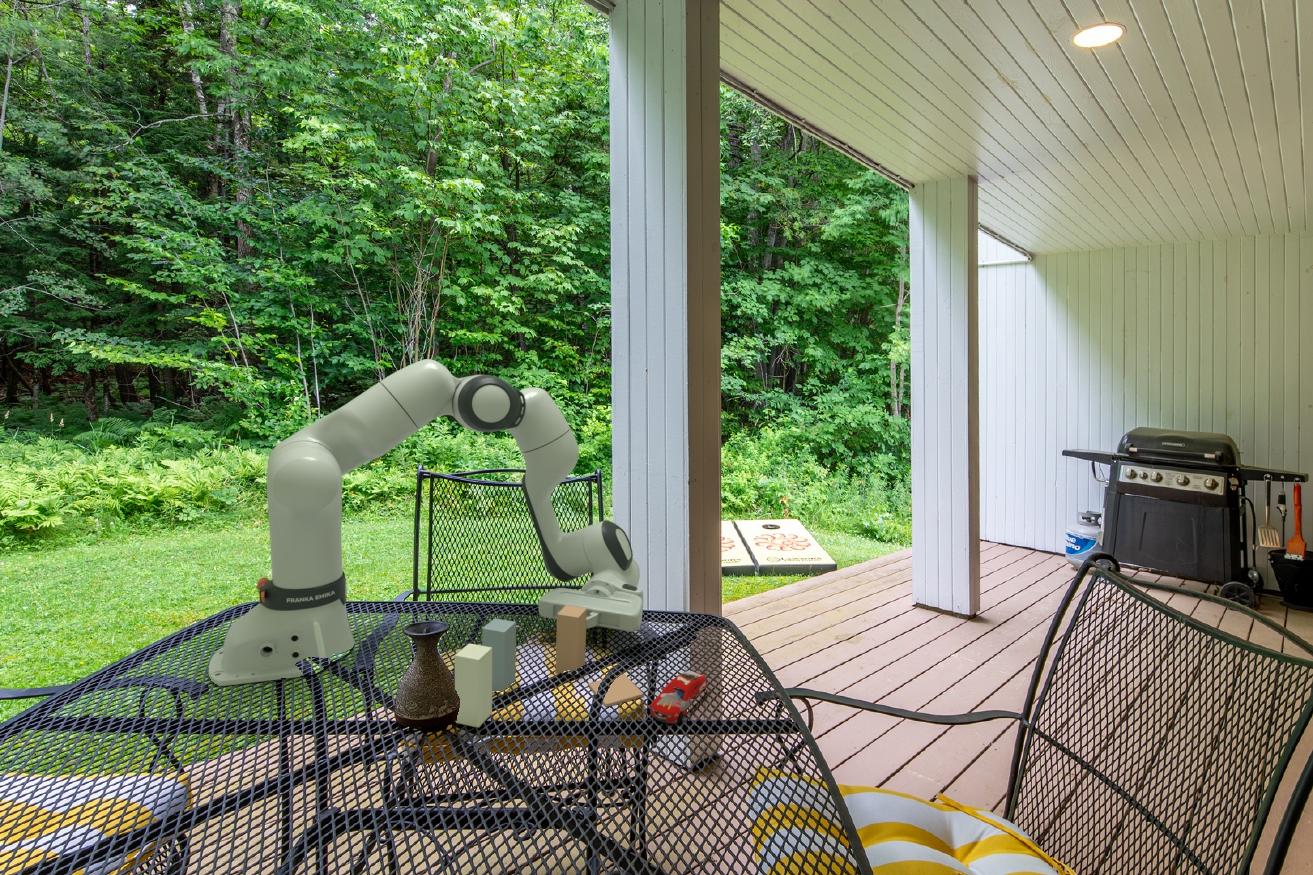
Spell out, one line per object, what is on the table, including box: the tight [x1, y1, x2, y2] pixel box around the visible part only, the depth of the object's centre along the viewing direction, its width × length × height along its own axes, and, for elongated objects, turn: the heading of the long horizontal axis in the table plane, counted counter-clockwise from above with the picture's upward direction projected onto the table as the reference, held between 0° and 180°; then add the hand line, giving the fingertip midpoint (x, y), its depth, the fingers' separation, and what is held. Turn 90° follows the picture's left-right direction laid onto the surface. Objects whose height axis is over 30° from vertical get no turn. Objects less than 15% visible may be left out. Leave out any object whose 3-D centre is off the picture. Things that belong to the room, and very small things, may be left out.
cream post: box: [454, 643, 493, 729], centre depth 97 cm, size 4×4×11 cm
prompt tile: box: [587, 673, 645, 708], centre depth 107 cm, size 7×7×1 cm
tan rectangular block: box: [555, 605, 587, 674], centre depth 113 cm, size 4×4×11 cm
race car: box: [649, 670, 708, 724], centre depth 104 cm, size 13×5×4 cm, turn 148°
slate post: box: [481, 617, 517, 691], centre depth 106 cm, size 4×4×11 cm
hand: (576, 626), depth 115 cm, fingers closed
